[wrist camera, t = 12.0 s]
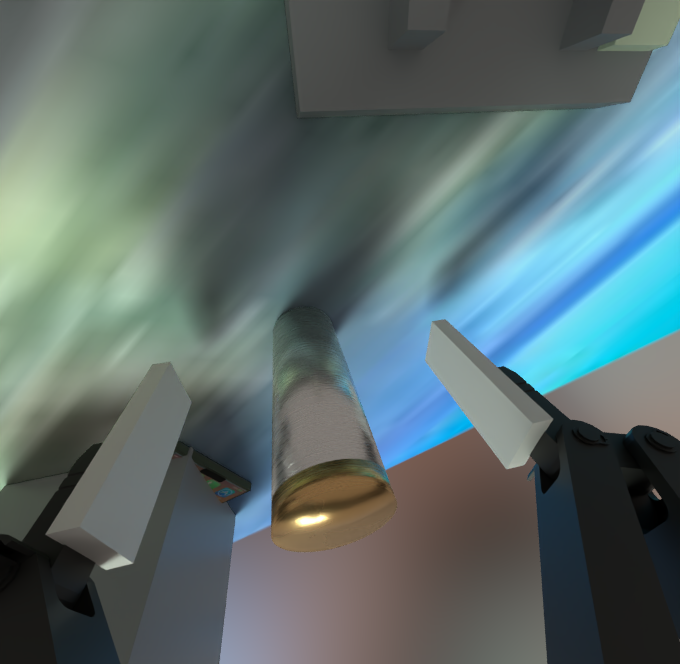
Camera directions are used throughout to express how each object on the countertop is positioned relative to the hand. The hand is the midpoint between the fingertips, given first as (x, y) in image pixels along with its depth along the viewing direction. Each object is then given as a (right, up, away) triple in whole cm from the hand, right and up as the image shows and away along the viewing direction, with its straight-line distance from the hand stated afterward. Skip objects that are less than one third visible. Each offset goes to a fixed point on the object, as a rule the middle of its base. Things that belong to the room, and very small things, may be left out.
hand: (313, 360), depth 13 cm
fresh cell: (-1, +1, +2) cm, 3 cm away
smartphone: (-15, -12, +8) cm, 21 cm away
